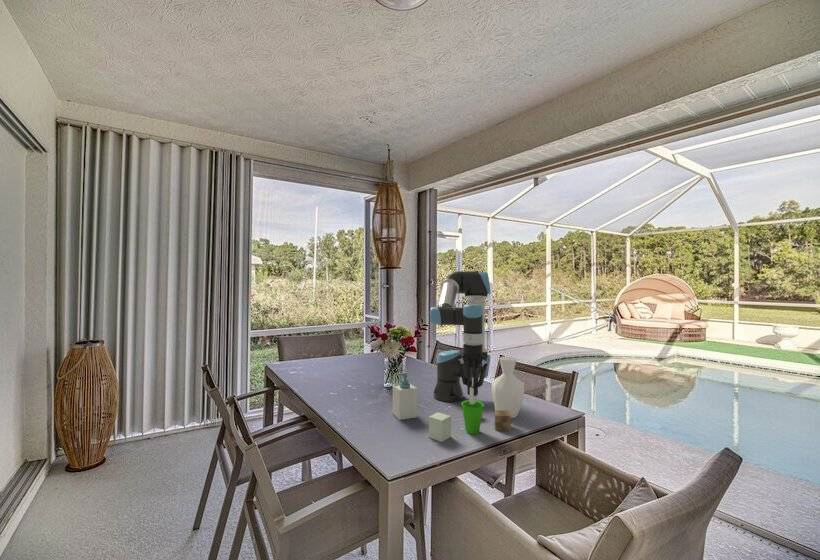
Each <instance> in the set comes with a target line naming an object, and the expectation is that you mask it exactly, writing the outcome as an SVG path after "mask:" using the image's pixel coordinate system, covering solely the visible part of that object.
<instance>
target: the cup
mask: <svg viewBox="0 0 820 560" xmlns="http://www.w3.org/2000/svg"><path fill="white" fill-rule="evenodd" d="M460 405H461V406H462V413H463V414H462V415H463V419H464V420H463V421H464V426H465V431H466V433H467V434H469V435H478V434H479V432H480V429H481V423H482V418H483V417H482V416H483V411H484V407H485V403H483V402H482V401H479V400H476V403H475V404H473V405H472V404H470V399H468V400H464V401H462V402H461V403H460Z"/></svg>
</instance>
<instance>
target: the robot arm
mask: <svg viewBox="0 0 820 560" xmlns="http://www.w3.org/2000/svg"><path fill="white" fill-rule="evenodd" d="M439 288H440V295H439V298H438V302H437V305H436V306H432V307H430V310H429V321H430V324H431V325H436V326H437V325H438V326H440V325H441V326H442V325H443V326H462V327H463V332H462V333H463V334H462V335H463V338H462V339H463V340H462V341H463V346H462V350H463V351H462V352H463V353H461V351H460V350H459V349H458V350H456V349H450V350H445V351H441V352H439V353H438V354H437V357H436V358H437V359H436V372H437V373H436V384H435V387H434V389H433V398H434V399H436V400H438V401H440V402H441V401H442V402H458V401H461V400H463V399H464V392H463V388H462V385H461V382H462V384H463V385H465V386H466V387H467V395H469V400H470V404H472V405H473V404H475V403H476V401H477V400H476V399H477V398H476V397H477V396H479V395H478V394H479V388H481V387H482V386H483V385H484V381H485V379H486V378H488V376H489V372H490V365H491V355H490V354H488V350H487V349H486V348H485V347H486V346H485V338H486V337H485V329H486V328H485V321H486V320H485V317H486V316H485V315H486V314H485V313H486V311H485V308H486V305H485V304H486V303H485V302H486V300H487V299H488V298H489V297H488V296H489V295H490V294H491V284H490V277H489V273H488V272H487V271H484V270H483V271H482V270H481V271H480V270H474V271H473V270H471V271H470V270H469V271H467V270H466V271H454V272H452V273H450V274H448V275H446V276H445V277H444V278H443V280H442V281H441V283H440V286H439ZM457 294H462V295H463V294H464V298H465V299H466V300H467V304H464V305H463V307H458V306H457V307H455V304H456V298H457Z"/></svg>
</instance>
